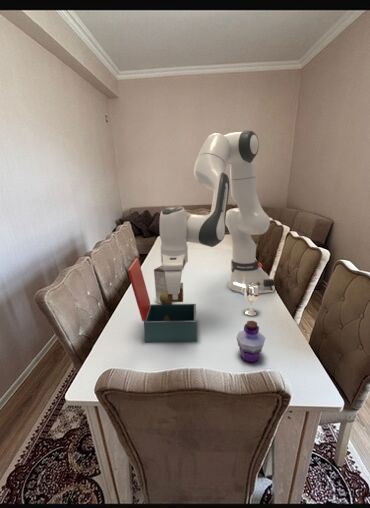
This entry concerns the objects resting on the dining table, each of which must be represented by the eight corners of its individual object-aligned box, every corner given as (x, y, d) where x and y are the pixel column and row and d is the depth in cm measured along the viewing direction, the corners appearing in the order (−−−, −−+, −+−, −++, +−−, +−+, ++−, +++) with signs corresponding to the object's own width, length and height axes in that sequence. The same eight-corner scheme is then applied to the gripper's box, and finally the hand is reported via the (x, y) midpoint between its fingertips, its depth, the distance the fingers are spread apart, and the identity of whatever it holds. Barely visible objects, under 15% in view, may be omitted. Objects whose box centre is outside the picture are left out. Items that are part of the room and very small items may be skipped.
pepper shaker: (173, 324, 95) (171, 298, 92) (157, 322, 97) (156, 296, 93) (176, 315, 101) (175, 291, 98) (162, 314, 102) (160, 290, 99)
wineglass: (259, 316, 99) (261, 288, 95) (245, 316, 99) (246, 289, 95) (255, 309, 104) (257, 282, 101) (241, 309, 104) (243, 283, 101)
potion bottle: (246, 344, 83) (248, 312, 79) (270, 357, 77) (273, 323, 73) (229, 356, 78) (230, 322, 74) (253, 371, 71) (255, 335, 68)
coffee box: (167, 294, 120) (165, 263, 116) (178, 297, 117) (177, 265, 112) (155, 302, 113) (153, 269, 108) (167, 305, 110) (165, 271, 105)
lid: (138, 257, 90) (135, 258, 90) (129, 270, 78) (127, 270, 78) (150, 303, 95) (148, 303, 95) (144, 321, 83) (142, 321, 83)
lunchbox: (196, 321, 97) (195, 303, 95) (196, 341, 85) (196, 321, 83) (150, 322, 97) (149, 304, 95) (145, 342, 85) (143, 322, 83)
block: (183, 295, 90) (183, 282, 88) (183, 302, 85) (182, 288, 83) (169, 295, 90) (168, 282, 88) (168, 302, 85) (167, 288, 83)
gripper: (167, 248, 93) (169, 282, 97) (161, 267, 73) (163, 309, 77) (184, 248, 92) (185, 282, 97) (183, 266, 73) (184, 308, 77)
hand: (176, 294), depth 87 cm, fingers closed on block, 5 cm apart
